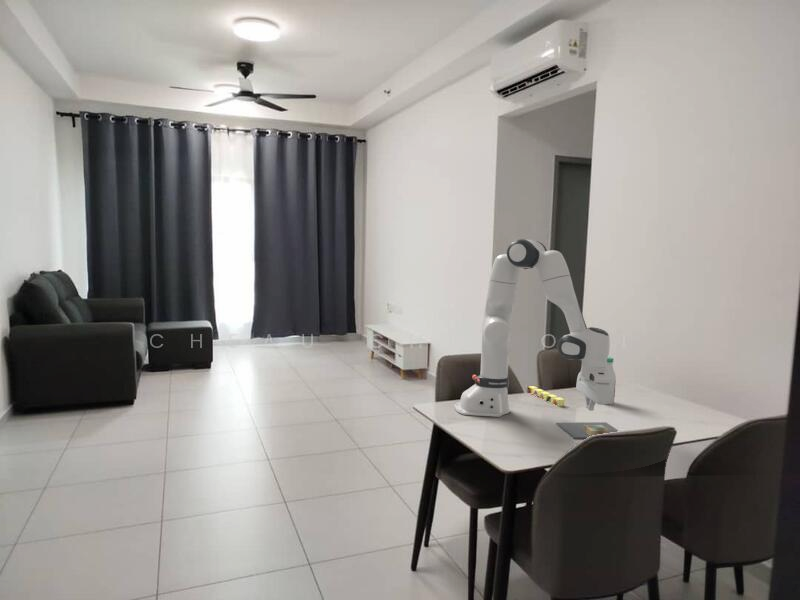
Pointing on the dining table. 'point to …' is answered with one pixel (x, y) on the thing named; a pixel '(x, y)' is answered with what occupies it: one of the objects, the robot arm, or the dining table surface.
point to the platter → (546, 395)
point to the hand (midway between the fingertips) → (589, 409)
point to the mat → (577, 428)
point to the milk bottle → (612, 374)
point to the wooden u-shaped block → (595, 429)
